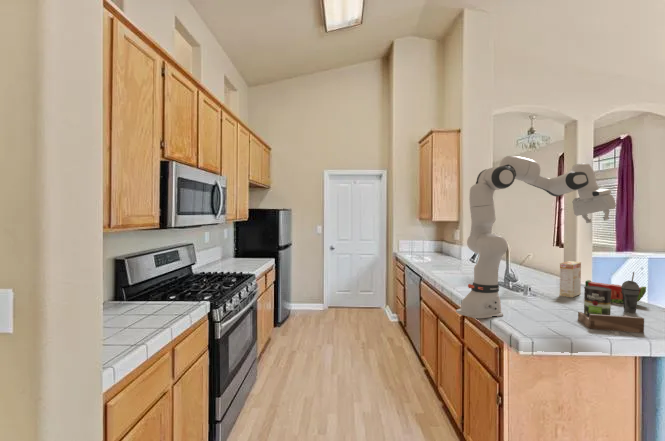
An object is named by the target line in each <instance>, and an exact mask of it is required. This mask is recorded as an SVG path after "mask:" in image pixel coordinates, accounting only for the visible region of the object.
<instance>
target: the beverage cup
mask: <svg viewBox="0 0 665 441" xmlns="http://www.w3.org/2000/svg"><path fill="white" fill-rule="evenodd" d="M634 277H635V271H633V272H632V276H631V280H626V281H624V282H622V284H621V286H622V287H621V289H622V295H623V303H622V304H623V305H622V306H623V307H622V308H623V312H625V313H627V312H629V313H628V314H636V313H637V307H638V302H637V300H638V294H639V290H640V289H639V287H640V286H639V284H638V283H637V282H635V281H634Z"/></svg>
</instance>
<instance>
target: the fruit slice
mask: <svg viewBox="0 0 665 441" xmlns="http://www.w3.org/2000/svg"><path fill="white" fill-rule="evenodd" d="M584 282H585V283H584V287H585V286H599V287H605V288H609V289H611V303H613V304H614V303H616V304H623V295H622V289H621V287H622V284H621V285H620V284H613V283H610V284H609V283H602V282H595V281H591V280H589V279H587V280H585V281H584ZM639 289H640V290H639V294H638V300H637V303H638V302H639V301H641V299H642V298H643V297H644V296H645V294H646V292H647V286H639Z"/></svg>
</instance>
